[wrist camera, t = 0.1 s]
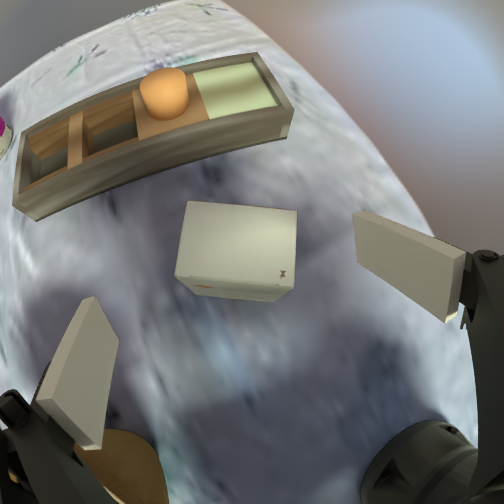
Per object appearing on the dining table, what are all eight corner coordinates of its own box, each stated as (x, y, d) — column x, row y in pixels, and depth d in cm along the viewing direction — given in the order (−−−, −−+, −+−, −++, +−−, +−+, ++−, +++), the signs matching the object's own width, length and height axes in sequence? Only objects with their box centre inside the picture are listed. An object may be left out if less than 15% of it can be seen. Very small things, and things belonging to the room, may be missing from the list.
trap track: (286, 138, 34) (294, 109, 28) (36, 221, 29) (12, 205, 23) (254, 80, 36) (257, 52, 31) (39, 152, 31) (21, 132, 26)
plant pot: (196, 514, 21) (179, 607, 6) (80, 486, 20) (14, 543, 5) (197, 408, 25) (160, 487, 10) (69, 382, 24) (-33, 403, 9)
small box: (278, 250, 30) (300, 209, 20) (274, 304, 28) (297, 289, 18) (201, 242, 29) (185, 197, 19) (194, 295, 28) (172, 276, 18)
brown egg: (193, 113, 29) (189, 88, 25) (150, 126, 28) (141, 102, 24) (184, 87, 30) (181, 63, 26) (145, 98, 29) (137, 75, 25)
